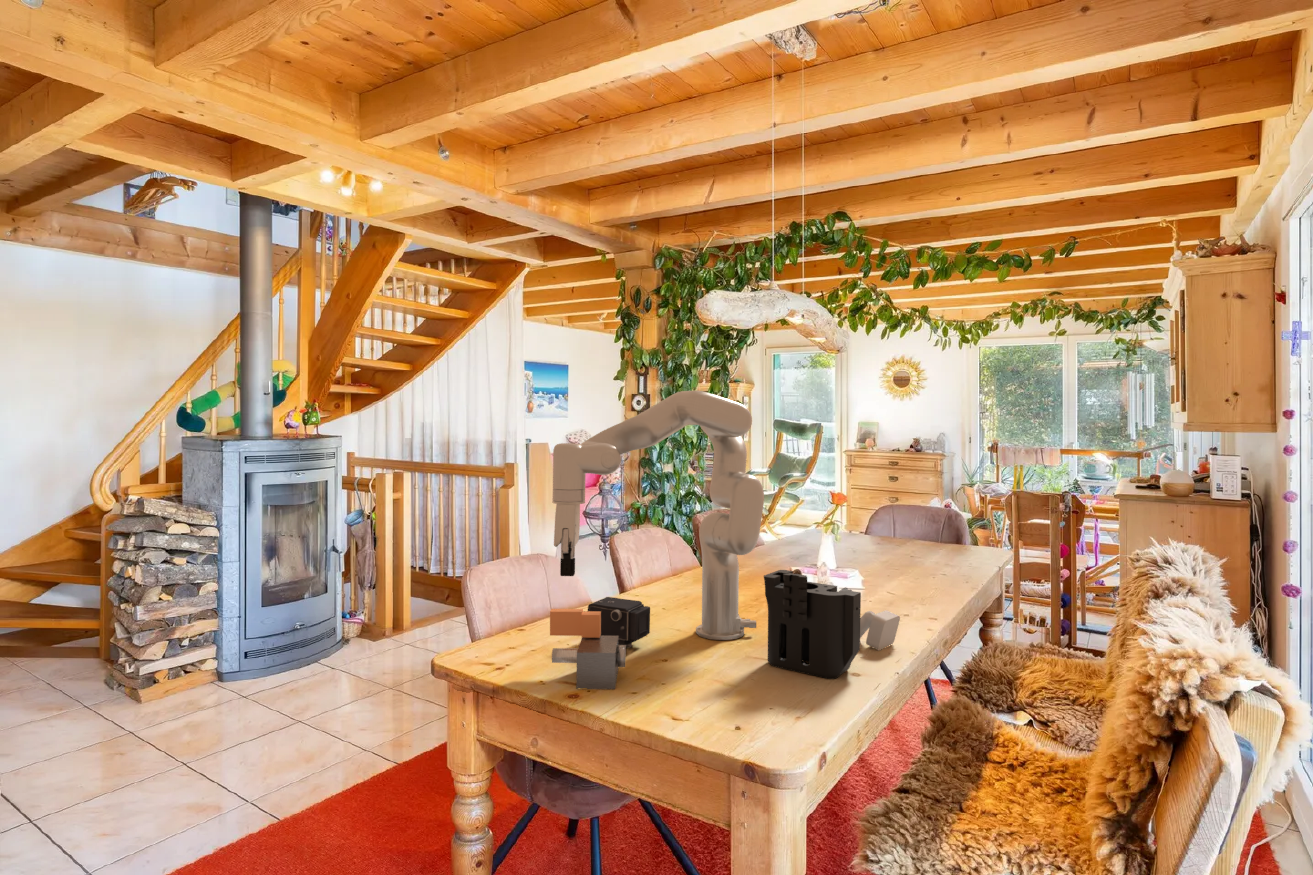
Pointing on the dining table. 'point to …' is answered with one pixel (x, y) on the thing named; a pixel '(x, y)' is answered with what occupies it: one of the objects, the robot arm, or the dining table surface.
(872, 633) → the wall hook
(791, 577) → the black machined bracket
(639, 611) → the camera
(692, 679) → the dining table surface
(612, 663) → the block
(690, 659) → the dining table surface
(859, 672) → the dining table surface
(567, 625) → the plate
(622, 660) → the pin
